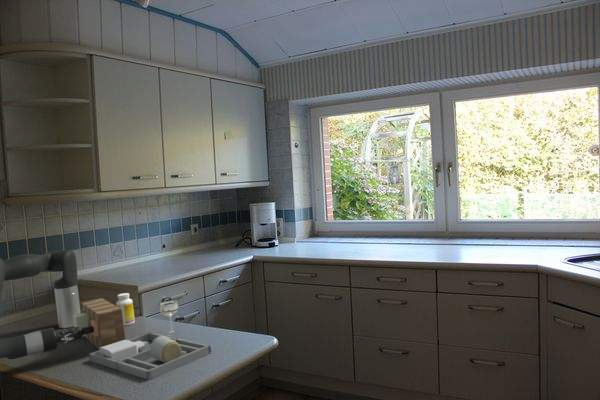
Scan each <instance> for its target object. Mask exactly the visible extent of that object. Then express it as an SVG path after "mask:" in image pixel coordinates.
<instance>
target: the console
mask: <svg viewBox="0 0 600 400" xmlns="http://www.w3.org/2000/svg"><path fill="white" fill-rule="evenodd" d="M80 307H81V313H84V312H86V313H87V316H88V325H89V326H91V320H96V321H97V322H98V330H99V336H97V337H95V336H94V335H93V334H92V333H89V334H85V335H84V338H86V339H87V340H88V341H89V342H90V343H91V344H93V345H94V346H95V347H96V348H97V349H98V350H100V349H99V348H100V347H103V346H107V345H110V344H113V343H116V342H119V341H122V340H126V337H125V328H124V327H125V326H123V318H122V309H120V308H119V307H117V306H116V305H115V304H113V303H111V302H110V301H108V300H106V299H104V298H102V297H100V298H96V299H91V300H86V301H82V302H80Z"/></svg>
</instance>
